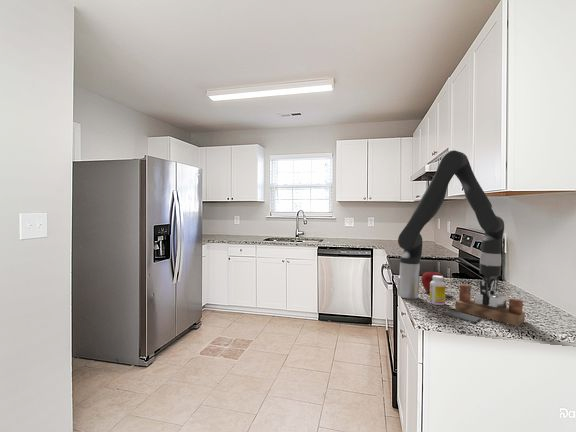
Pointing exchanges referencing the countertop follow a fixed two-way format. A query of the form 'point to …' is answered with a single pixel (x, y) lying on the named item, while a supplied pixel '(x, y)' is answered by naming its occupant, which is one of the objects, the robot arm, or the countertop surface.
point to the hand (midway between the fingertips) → (488, 303)
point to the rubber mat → (461, 316)
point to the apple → (428, 279)
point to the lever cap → (493, 300)
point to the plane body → (490, 308)
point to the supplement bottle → (437, 290)
